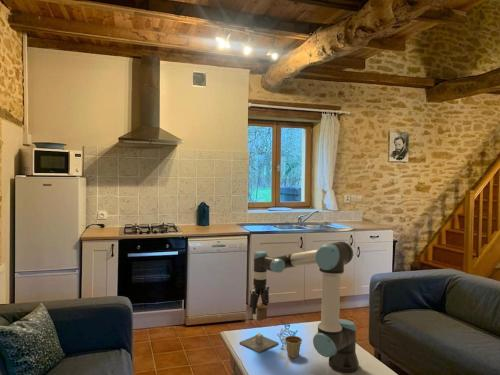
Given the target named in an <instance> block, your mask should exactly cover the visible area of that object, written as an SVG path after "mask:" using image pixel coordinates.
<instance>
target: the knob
mask: <svg viewBox="0 0 500 375" xmlns="http://www.w3.org/2000/svg"><path fill="white" fill-rule="evenodd" d="M256 308H257V320H256V321H259V322H261V321H263V320H266V319H267V318H268V307H266V308H265V304H263V303H262V302H258V303H257V307H256ZM252 311H253V308H251V319H253V313H252Z"/></svg>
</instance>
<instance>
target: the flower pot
mask: <svg viewBox="0 0 500 375" xmlns="http://www.w3.org/2000/svg"><path fill="white" fill-rule="evenodd" d="M284 341H285V344H286V352H287V356H288V357H289V358H298V357H299V356H300V350H301V344H302V342H303V338H301V337H299V336H296V335H288V336H286V337H284Z"/></svg>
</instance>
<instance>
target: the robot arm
mask: <svg viewBox="0 0 500 375" xmlns="http://www.w3.org/2000/svg"><path fill="white" fill-rule="evenodd" d="M353 258H354V250H353V248H352V246H351V245H350V244H349V243H347V242H346V241H336V242H331V243H325V244H323V245H321V246H320V247H319V248H317V249H311V250H307V251H301V252H296V253H289V254H285V255H280V256H268V252H267V251H264V250H257V251H255V252H254V254H253V286H254V287H253V289H250V290H249V293H250V296H249V297H250V299H249V308H251V309H252V308H253V311H252V310H251V314H252V313H253V318H252V319H253V320H254V321H258V320H257V308H256V307H257V303H259V299H260V300H261V303H263V304H265V308H267V306H268V304H270V303H269V302H270V298H269V296H270V293H269V290H270V287H269V286H267V278H268V276H267V271H270V272H273V273H278V274H280V273H283V271H284V270H286V269H289V268H296V267H303V266H304V267H305V266H311V265H317V267H319V272H320V273H321V274H322V276H321V278H322V279H321V280H322V281H321V285H322V286H321V312H320V313H321V314H320V315H321V316H320V317H321V318H320V320H321V321H320V322H319V323H318V324H317V333H315V334H314V336H313V339H312V344H313V348H314V349H315V350H316V352H317V353H318V354H319V356H320V355H321V356H322V357H325V358H328V367H329V368H331V369H332V370H334V371H336V372H340V373H344V374H345V373H346V374H349V373H355V372H357V371H358V370H359V367H360V365H359V364H360V362H359V359H358V355H357V353H356V350H357V349H356V348H357V346H356V343H357V340H356V339H357V326H356V324H355V323H354V322H353V321H351V320H348V319H344V318H340V309H341V308H340V303H341V300H340V299H341V276H342V275H343V274H344V273H345V265H347V264H349V263H350V262H351V261H352V260H353Z"/></svg>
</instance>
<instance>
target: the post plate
mask: <svg viewBox="0 0 500 375" xmlns="http://www.w3.org/2000/svg"><path fill="white" fill-rule="evenodd" d="M279 344H280V343H279V341H278V342H277V341H276V340H273V339H270V338H269V337H266V336H264V334H262V333H256V334H255V335H253V336H251V337H249V338H246V339H244V340H242V341H239V345H241V346H244V347H246V348H247V349H249V350H252V351H254V352H256V353H258V354H261V353H264V352H265V351H268V350H270V349H272V348H275V347H276V346H278V345H279Z"/></svg>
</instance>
